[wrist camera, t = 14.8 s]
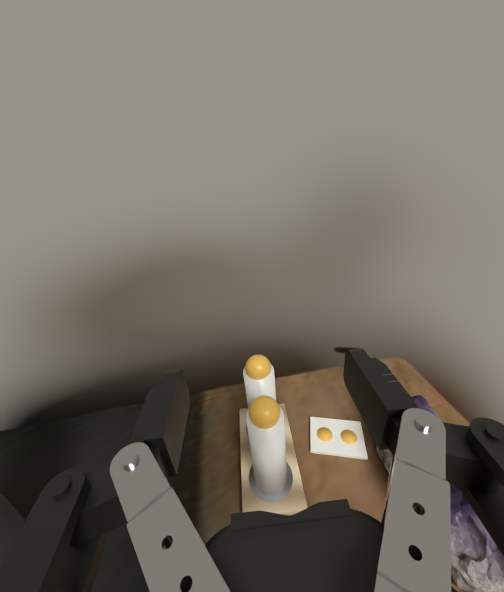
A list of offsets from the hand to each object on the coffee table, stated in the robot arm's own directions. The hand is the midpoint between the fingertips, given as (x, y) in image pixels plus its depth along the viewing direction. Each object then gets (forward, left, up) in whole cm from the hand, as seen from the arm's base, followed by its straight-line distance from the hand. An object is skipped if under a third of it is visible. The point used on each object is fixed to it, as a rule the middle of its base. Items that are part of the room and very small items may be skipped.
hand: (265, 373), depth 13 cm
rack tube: (-9, +16, -29) cm, 34 cm away
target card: (+1, +20, -30) cm, 36 cm away
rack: (-7, +13, -30) cm, 33 cm away
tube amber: (-5, +10, -29) cm, 31 cm away
